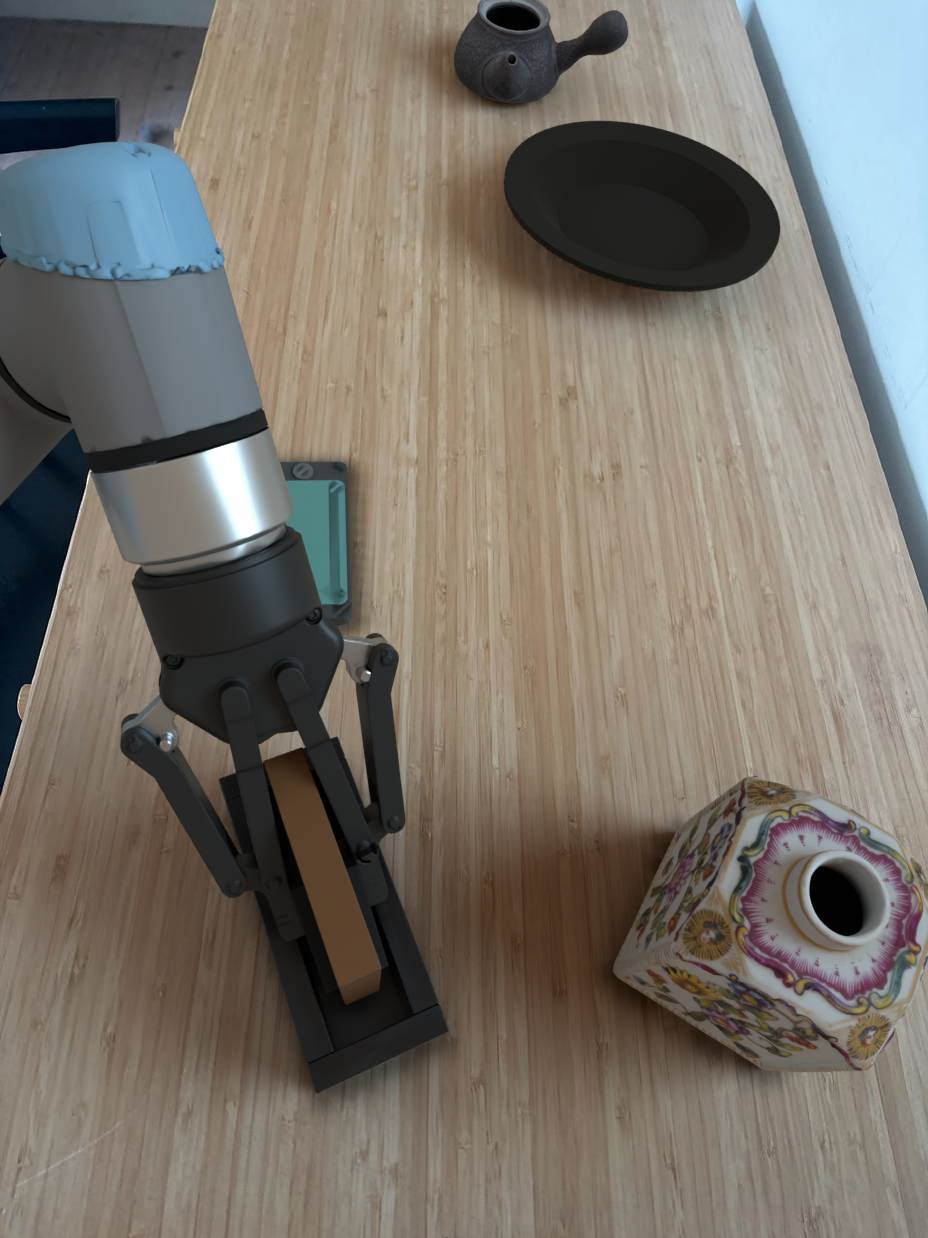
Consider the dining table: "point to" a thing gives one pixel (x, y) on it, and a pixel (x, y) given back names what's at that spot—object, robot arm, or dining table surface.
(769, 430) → the dining table surface
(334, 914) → the thin brown wooden plank
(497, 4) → the teapot
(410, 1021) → the black open box
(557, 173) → the plate
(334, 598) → the smartphone
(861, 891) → the decorative jar
